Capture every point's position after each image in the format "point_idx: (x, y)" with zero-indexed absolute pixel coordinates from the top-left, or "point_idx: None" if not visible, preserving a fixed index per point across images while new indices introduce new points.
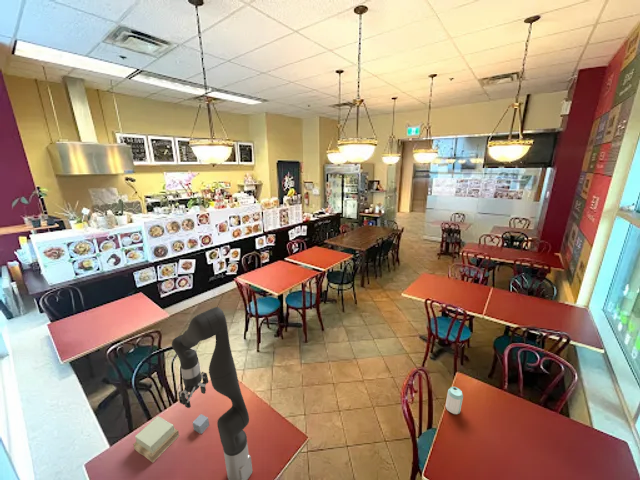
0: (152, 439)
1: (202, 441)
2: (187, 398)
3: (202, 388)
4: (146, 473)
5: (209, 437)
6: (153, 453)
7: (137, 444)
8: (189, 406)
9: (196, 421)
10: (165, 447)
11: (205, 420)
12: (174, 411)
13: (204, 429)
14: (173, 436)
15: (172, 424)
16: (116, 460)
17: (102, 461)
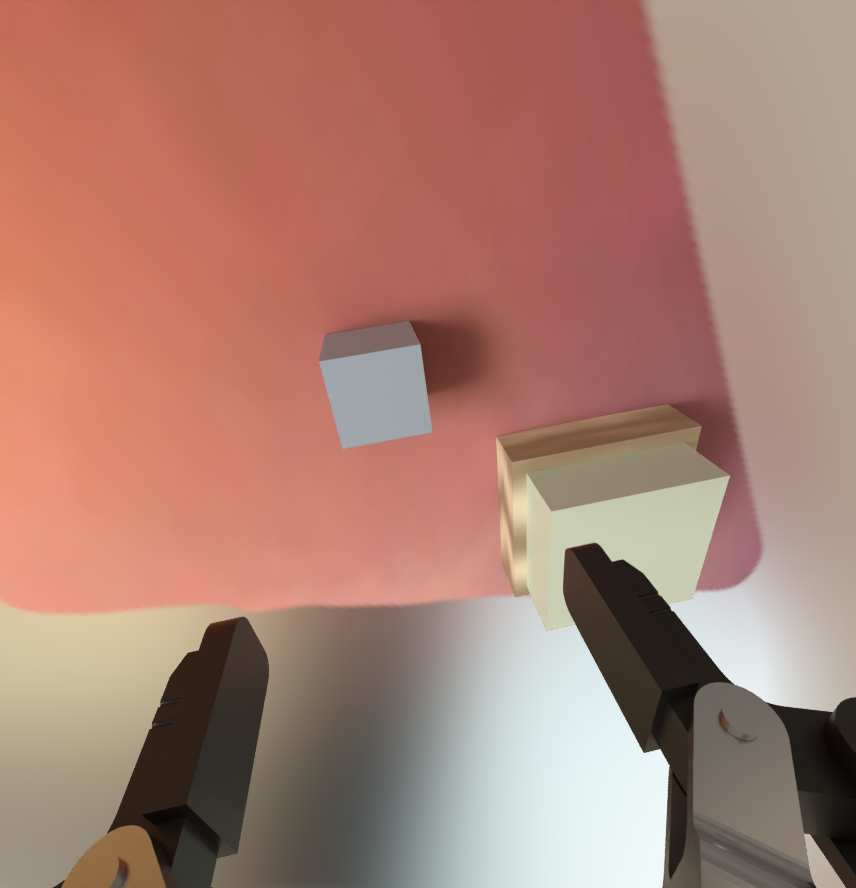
0: (683, 514)
1: (439, 254)
2: (795, 841)
3: (214, 784)
4: (721, 376)
5: (385, 231)
6: (681, 437)
7: None
8: (612, 568)
9: (407, 414)
10: (597, 427)
11: (351, 356)
12: (415, 589)
13: (375, 329)
14: (547, 449)
15: (552, 519)
16: None
17: (716, 575)
